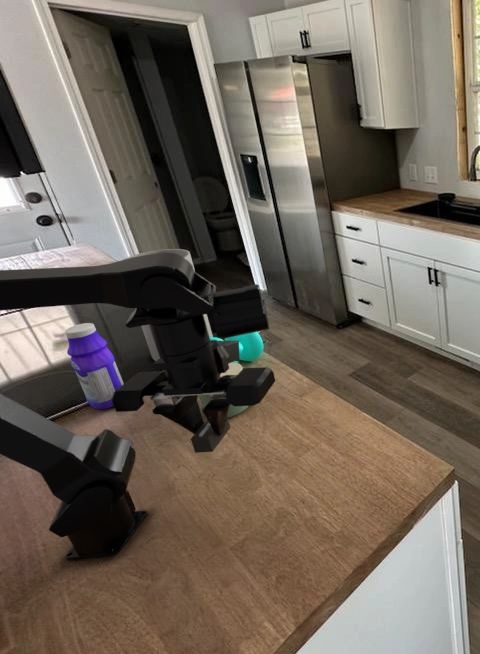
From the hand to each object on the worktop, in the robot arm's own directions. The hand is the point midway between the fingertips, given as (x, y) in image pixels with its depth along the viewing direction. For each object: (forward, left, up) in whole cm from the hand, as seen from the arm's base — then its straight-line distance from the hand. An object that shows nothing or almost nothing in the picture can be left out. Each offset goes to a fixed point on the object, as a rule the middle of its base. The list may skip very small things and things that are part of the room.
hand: (212, 434), depth 62 cm
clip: (0, 0, -1) cm, 1 cm away
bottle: (+26, +35, -12) cm, 46 cm away
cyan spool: (+36, +15, -12) cm, 41 cm away
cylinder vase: (+45, +31, -12) cm, 56 cm away
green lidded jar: (+22, +10, -12) cm, 27 cm away
